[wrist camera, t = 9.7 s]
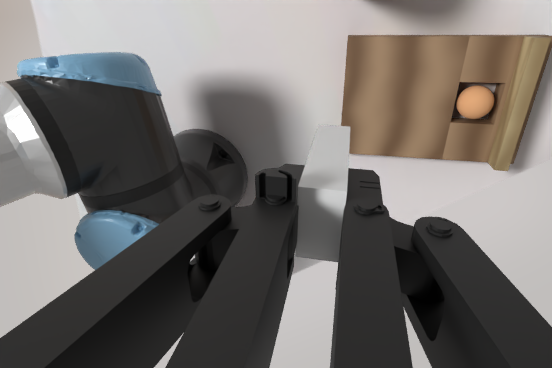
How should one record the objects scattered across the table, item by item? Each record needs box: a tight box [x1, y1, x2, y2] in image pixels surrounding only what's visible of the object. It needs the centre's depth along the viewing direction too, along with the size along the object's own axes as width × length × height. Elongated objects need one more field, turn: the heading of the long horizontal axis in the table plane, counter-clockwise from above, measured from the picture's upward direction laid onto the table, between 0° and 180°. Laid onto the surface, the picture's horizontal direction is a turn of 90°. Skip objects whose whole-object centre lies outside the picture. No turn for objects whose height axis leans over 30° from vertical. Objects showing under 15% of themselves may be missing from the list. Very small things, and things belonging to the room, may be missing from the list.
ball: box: [456, 85, 494, 119], centre depth 42 cm, size 4×4×4 cm
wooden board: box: [341, 35, 552, 171], centre depth 42 cm, size 22×15×5 cm
